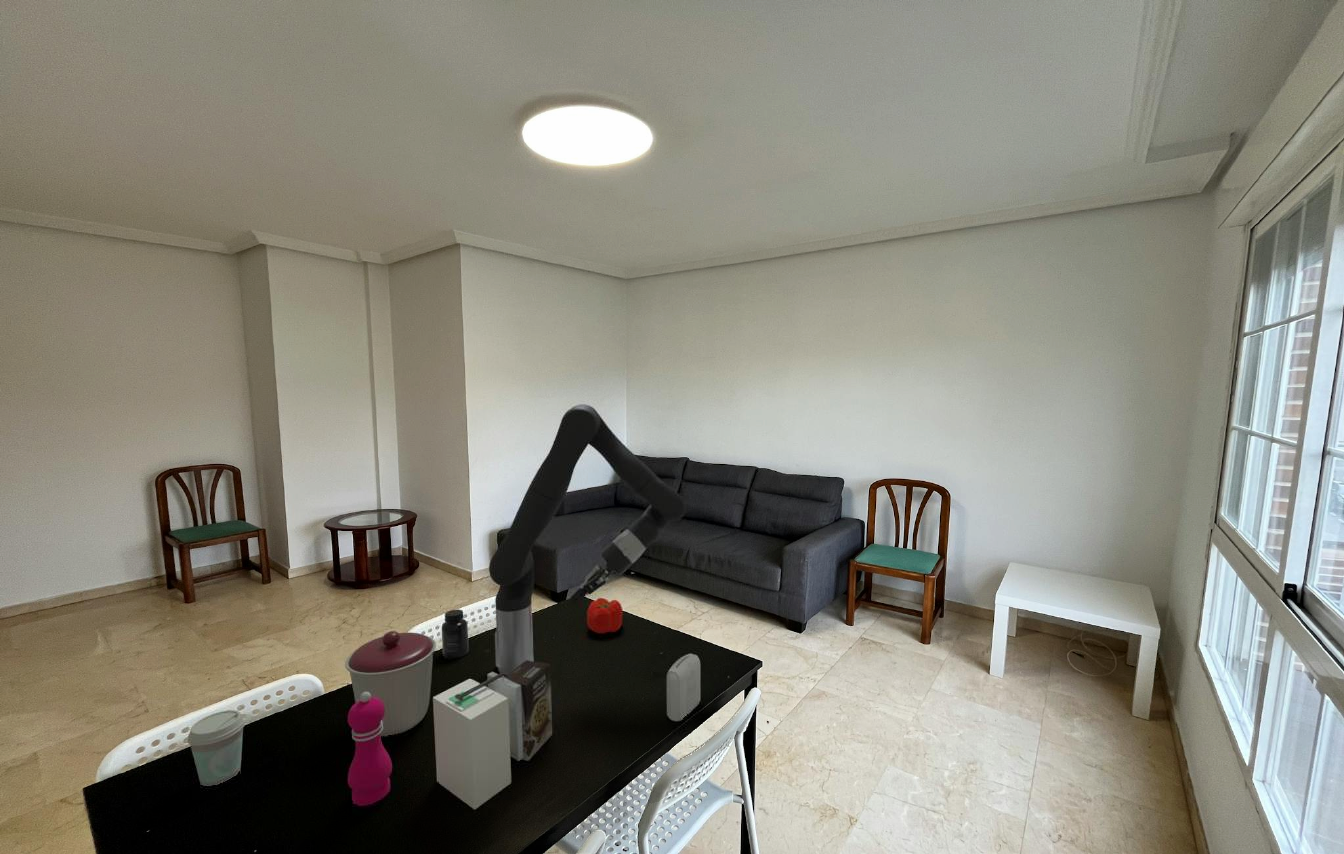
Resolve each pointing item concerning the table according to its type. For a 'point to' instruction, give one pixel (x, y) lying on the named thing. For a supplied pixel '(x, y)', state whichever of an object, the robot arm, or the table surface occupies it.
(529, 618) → the robot arm
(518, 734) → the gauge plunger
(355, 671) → the canister
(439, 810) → the table surface
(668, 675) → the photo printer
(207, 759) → the coffee cup
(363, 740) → the pepper mill
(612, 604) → the red bell pepper
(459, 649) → the supplement bottle
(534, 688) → the coffee box
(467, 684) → the gauge housing
